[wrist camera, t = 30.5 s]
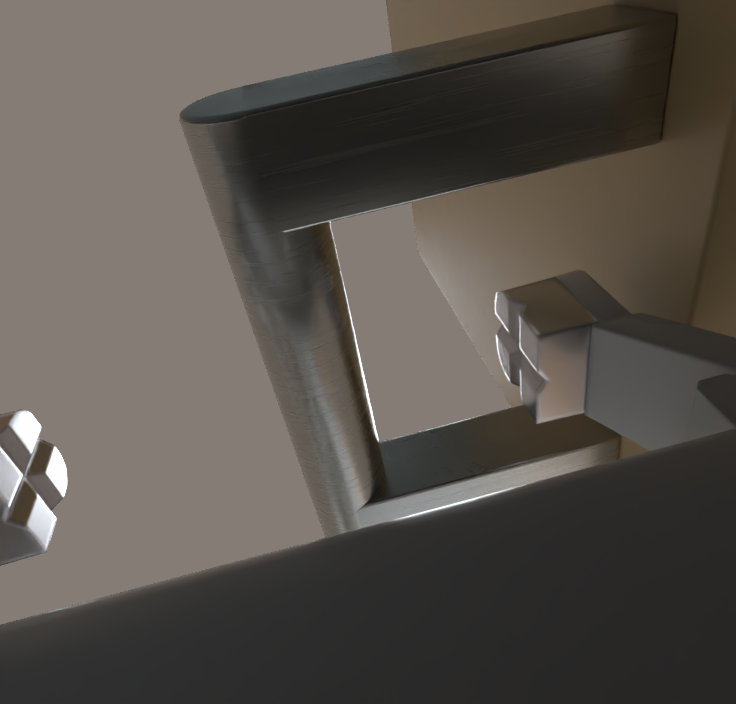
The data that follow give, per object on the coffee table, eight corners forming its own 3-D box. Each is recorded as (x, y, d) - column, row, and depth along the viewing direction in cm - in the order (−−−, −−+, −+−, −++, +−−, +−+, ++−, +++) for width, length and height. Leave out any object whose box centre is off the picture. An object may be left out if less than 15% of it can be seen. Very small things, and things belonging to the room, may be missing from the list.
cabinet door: (186, -95, 19) (292, 283, 28) (9, -240, 4) (363, 687, 13) (397, -137, 20) (437, 248, 28) (954, -417, 4) (673, 599, 13)
